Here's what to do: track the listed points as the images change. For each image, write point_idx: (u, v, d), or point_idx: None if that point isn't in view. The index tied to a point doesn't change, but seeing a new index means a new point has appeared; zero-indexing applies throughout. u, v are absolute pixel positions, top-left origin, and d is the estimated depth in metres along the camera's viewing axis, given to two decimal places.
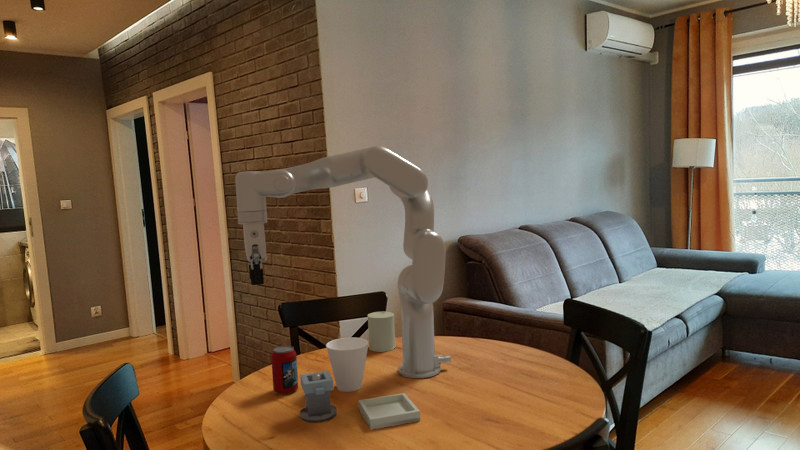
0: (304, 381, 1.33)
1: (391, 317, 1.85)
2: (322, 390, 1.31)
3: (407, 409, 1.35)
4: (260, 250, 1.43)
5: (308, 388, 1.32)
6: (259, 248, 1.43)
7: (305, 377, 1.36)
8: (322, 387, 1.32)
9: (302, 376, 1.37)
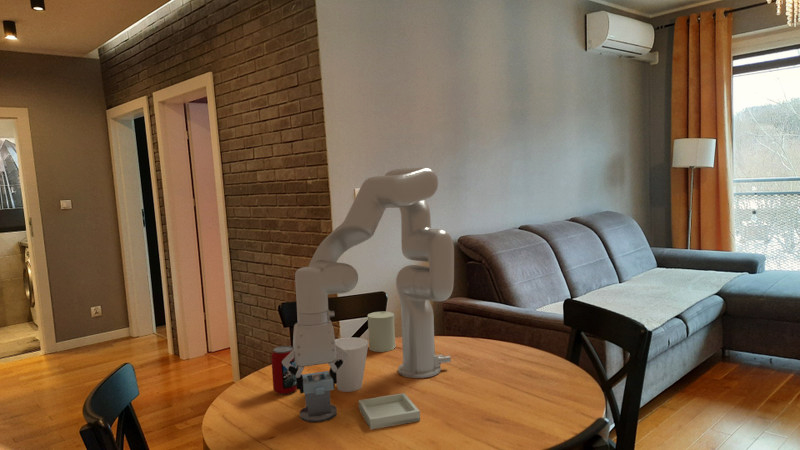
0: (304, 381, 1.33)
1: (391, 317, 1.85)
2: (322, 390, 1.31)
3: (407, 409, 1.35)
4: None
5: (308, 388, 1.32)
6: None
7: (305, 377, 1.36)
8: (322, 387, 1.32)
9: (302, 376, 1.37)
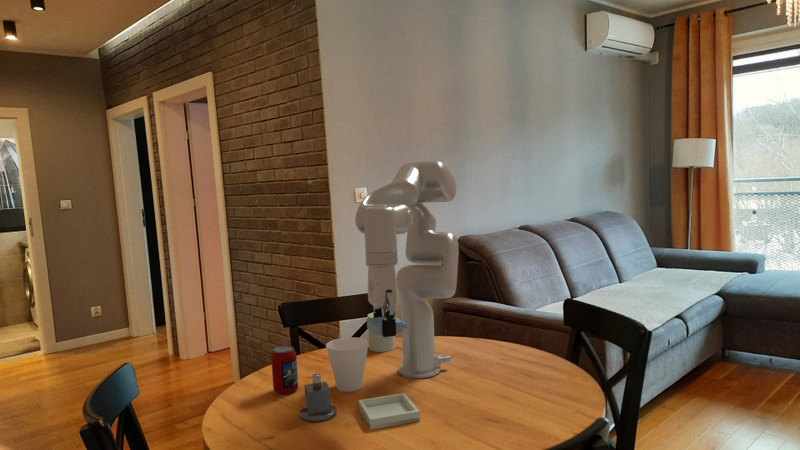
0: None
1: None
2: None
3: (407, 409, 1.35)
4: None
5: None
6: None
7: None
8: None
9: (379, 324, 1.29)
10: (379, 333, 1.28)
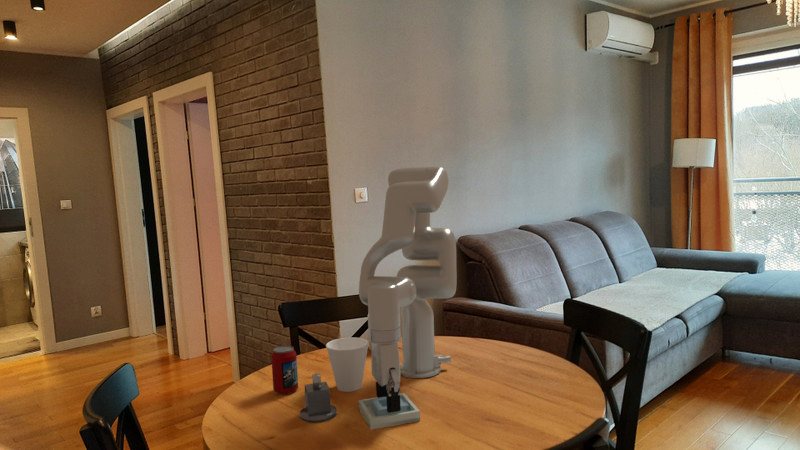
0: None
1: None
2: None
3: None
4: None
5: None
6: None
7: (386, 406, 1.31)
8: None
9: (383, 408, 1.30)
10: None
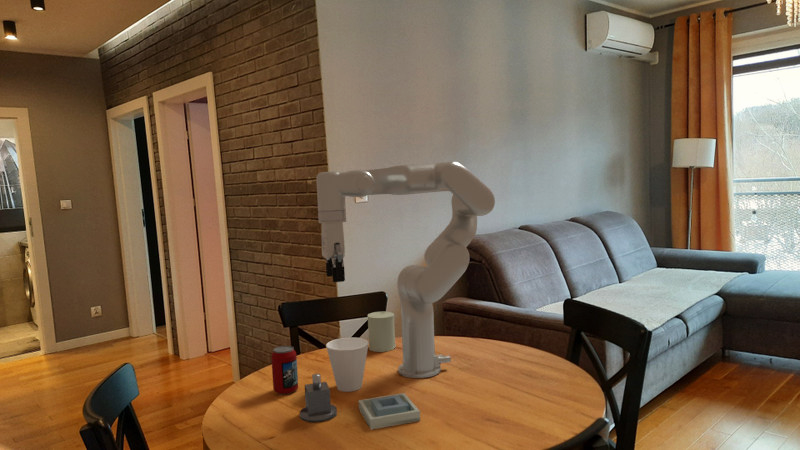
0: (398, 406, 1.32)
1: (391, 317, 1.85)
2: None
3: None
4: None
5: None
6: None
7: (386, 406, 1.31)
8: None
9: (383, 408, 1.30)
10: None
